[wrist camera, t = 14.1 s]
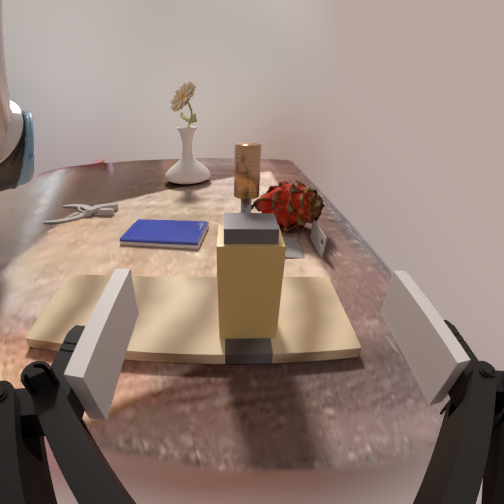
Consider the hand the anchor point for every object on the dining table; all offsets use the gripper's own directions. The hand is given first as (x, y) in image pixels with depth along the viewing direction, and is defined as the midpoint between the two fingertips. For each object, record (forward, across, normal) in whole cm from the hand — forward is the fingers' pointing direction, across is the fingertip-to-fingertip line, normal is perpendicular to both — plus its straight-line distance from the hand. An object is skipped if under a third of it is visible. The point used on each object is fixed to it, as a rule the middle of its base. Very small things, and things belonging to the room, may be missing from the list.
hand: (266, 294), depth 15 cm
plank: (+12, -6, -12) cm, 18 cm away
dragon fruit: (+35, +8, -12) cm, 38 cm away
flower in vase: (+63, -12, -13) cm, 65 cm away
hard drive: (+32, -12, -13) cm, 37 cm away
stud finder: (+10, 0, -11) cm, 14 cm away
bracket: (+28, +7, -13) cm, 31 cm away
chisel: (+17, 0, -11) cm, 20 cm away
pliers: (+43, -31, -13) cm, 55 cm away
